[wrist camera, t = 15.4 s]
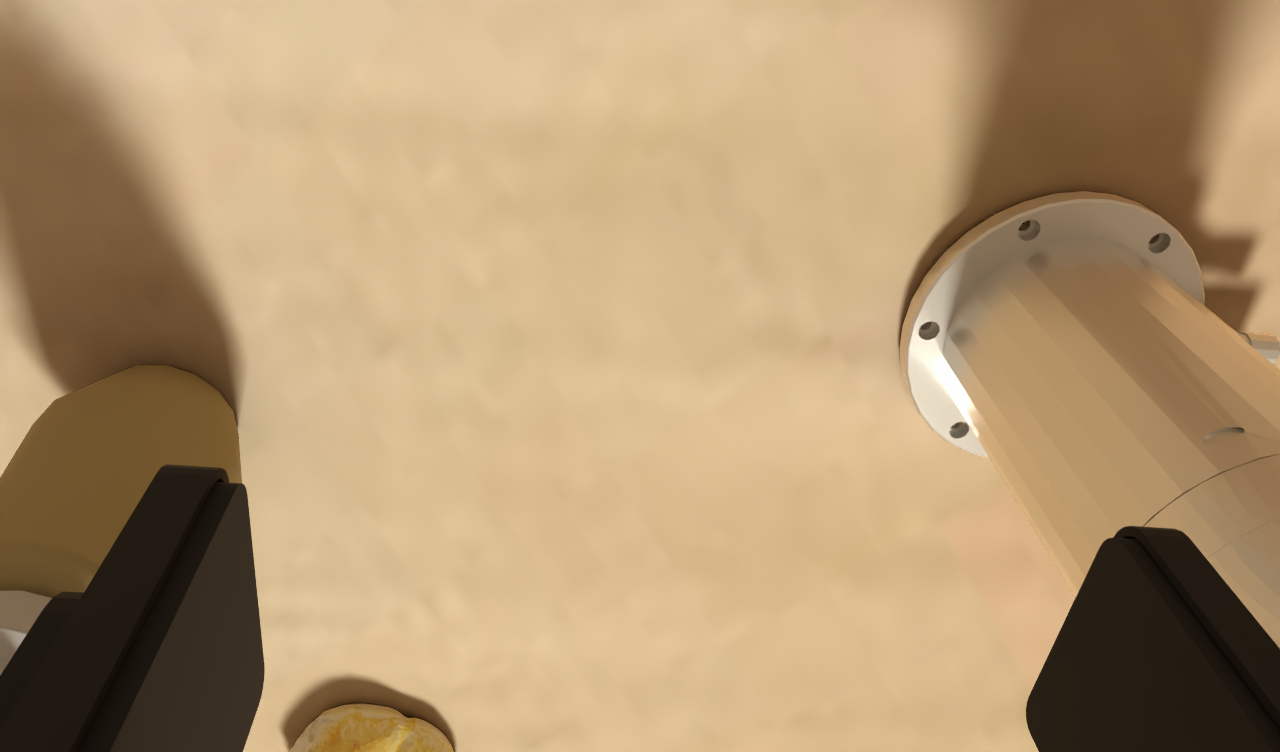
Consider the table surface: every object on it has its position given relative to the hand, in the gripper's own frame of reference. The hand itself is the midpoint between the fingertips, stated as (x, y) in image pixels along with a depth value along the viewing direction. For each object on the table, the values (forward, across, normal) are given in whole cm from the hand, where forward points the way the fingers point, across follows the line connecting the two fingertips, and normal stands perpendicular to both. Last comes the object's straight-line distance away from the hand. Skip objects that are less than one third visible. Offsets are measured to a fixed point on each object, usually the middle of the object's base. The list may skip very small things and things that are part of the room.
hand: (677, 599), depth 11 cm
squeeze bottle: (+28, +17, +18) cm, 38 cm away
